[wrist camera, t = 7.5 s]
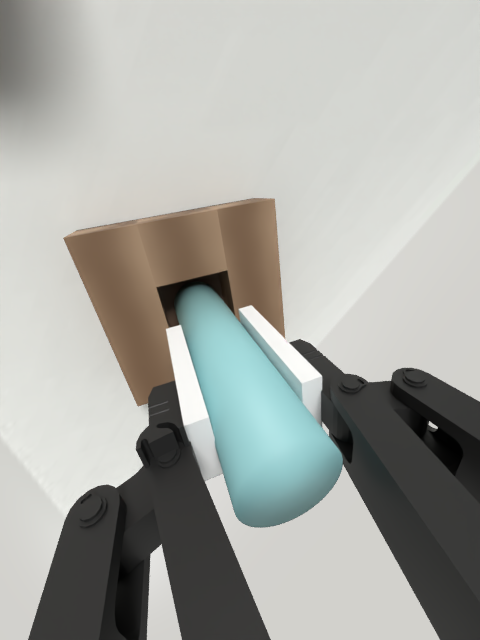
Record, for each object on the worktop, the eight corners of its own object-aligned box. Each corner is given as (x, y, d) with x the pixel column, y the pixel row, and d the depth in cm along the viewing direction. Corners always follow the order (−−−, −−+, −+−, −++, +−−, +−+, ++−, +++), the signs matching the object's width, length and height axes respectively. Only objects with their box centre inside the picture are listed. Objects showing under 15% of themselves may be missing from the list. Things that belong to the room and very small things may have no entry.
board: (253, 198, 19) (274, 198, 16) (268, 337, 25) (286, 356, 22) (77, 230, 17) (63, 238, 14) (138, 377, 22) (137, 406, 19)
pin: (214, 276, 19) (345, 423, 7) (222, 316, 20) (340, 495, 8) (168, 287, 18) (223, 473, 6) (180, 328, 19) (243, 543, 7)
